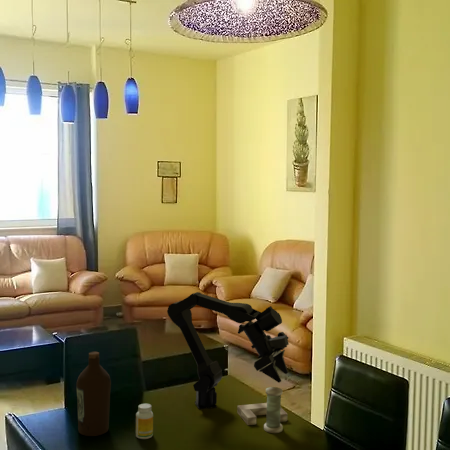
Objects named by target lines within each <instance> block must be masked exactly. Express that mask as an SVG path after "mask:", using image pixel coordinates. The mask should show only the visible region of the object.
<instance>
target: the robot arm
mask: <svg viewBox="0 0 450 450" xmlns="http://www.w3.org/2000/svg"><path fill="white" fill-rule="evenodd" d="M196 306H198V307H200V308H204V309H207V310H210V311H214V312H216V313H220V314H223V315H225V316H226V317H227V318H228V319H230V320H231V321H233V322H235V323H237V324H239V325H238V331H237V334H238V335H240V334H241V333H244V334H245V336H246V337H247V338H248V340H249V342H250V343H251V346H250V347H251V349H252V350H254V349H255V352H257V354H258V356H257V358H258V359H256V360H255V362H254V363H253V367H254V369H255V370H256V372H258V371H259V372H260V373H262V374H264V375H266V376H268V377H269V378H271V379H272V380H273V381H275V382H277V383H279V384H280V383H282V378H281V377H280V374H279V372H278V369H279V370H280V372H282V373H283V374H285V375H287V374H288V373H289V370H288V368H287V364H286V362H285V358H284V355H285V351H286V350H285V348H287V347H288V346H289V345H290V344H289V343H290V342H289V336H288V335H287V334H286V333H284V331H280V332H278V333H277V336H274V337H272V336H271V335H269V334H266V333H267V332H270V331H271V330H273V329H275V328H276V327H278V326H279V325H281V324H282V323H283V319H282V317H281V315H280V313H279V312H278V311H277V310H276V309H274V308H273V307H272V305H270V306H268V307H266V309H264V310H263V311H259V310H257V309H255V308H253V307H252V305H251V304H250V303H249V304H248V303H245V302H244V303H242V302H229V301H225V300H222V299H219V298H216V297H214V296H210V295H207V294H203V293H202V292H199V291H197V292H194V293H191V294H189V296H187V297H185V298H184V299H182V300H179V301H175V302H173V303H170V304H169V305H168V307H167V310H166V313H167V315H168V317H169V319H170V320H171V321H172V323H173V324H174V325H175V326H177V328H179V329H180V331H181V333H182V335H183V338H184V340H185V342H186V344H187V346H188V348H189V350H190V352H191V355H192V356H193V358H194V361H195V363H196V365H197V366H196V367H197V376H198V380H197V381H196V382H195V383H194V384H193V389H194V390H193V391H195V401H194V404H195V405H196V407H197V409H198V410H203V409H214V408H217V402H218V401H217V399H218V397H217V392H216V388H215V387H217V385H218V383H220V382H221V381H222V379H223V372H222V371H223V369H222V368H221V366H220V364H219V361H218V360H215V361H214V360H212V358H210V357H209V354H208V352H207V349H206V348H205V346H204V343H203V341H202V340H201V338H200V336H199V334H198V332H197V330H196V328H195V325H194V324H193V315H192V314H193V313H192V311H191V310H192V309H193V308H195V307H196ZM245 322H246V323H245ZM275 366H276V367H277V369H276V367H275Z"/></svg>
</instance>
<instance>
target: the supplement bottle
mask: <svg viewBox="0 0 450 450" xmlns="http://www.w3.org/2000/svg"><path fill="white" fill-rule="evenodd" d="M137 407H138V409H137V412H136V413H135V437H136V438H138V439H140V440H148V439H150V438H152V437H153V435H154V413H153V411H152V404H150V403H141V404H139V405H138V406H137Z"/></svg>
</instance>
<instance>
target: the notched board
mask: <svg viewBox="0 0 450 450" xmlns="http://www.w3.org/2000/svg"><path fill="white" fill-rule="evenodd" d="M236 406H237V408H236V410H237V412H236V413H237V414H238V415H239V417H240V418H241V419H242V420H243V421H244V422H245V424H246V426H253V425H257V416H265V415H266V416H267V402H264V403H263V402H261V403H252V404H251V403H250V404H241V405H239V404H238V405H236ZM287 421H288V413H287V411H285V410H284V409H283V408H282V407H281V409H280V423H283V422H287Z"/></svg>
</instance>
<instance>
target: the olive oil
mask: <svg viewBox="0 0 450 450" xmlns="http://www.w3.org/2000/svg"><path fill="white" fill-rule="evenodd" d="M87 359H88V360H87V361H88V363H87V364H88V365H87V366H85V368H84V369H83V370H82V372H80V374H79V375H78V377H77V380H76V384H75V385H76V386H75V387H76V397H77V398H76V400H77V401H76V402H77V429H78V431H77V432H78V433H79V434H80V435H82V436H85V437H97V436H101V435H103V434H105V433H107V432H108V431H109V428H110V425H109V424H110V409H111V408H110V406H111V404H110V403H111V389H112V380H111V376H110V374H109V373H108V371H107V370H106V369H104V368H103V366H102V365H101V364H100V352H98V351H90V352H88V358H87Z"/></svg>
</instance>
